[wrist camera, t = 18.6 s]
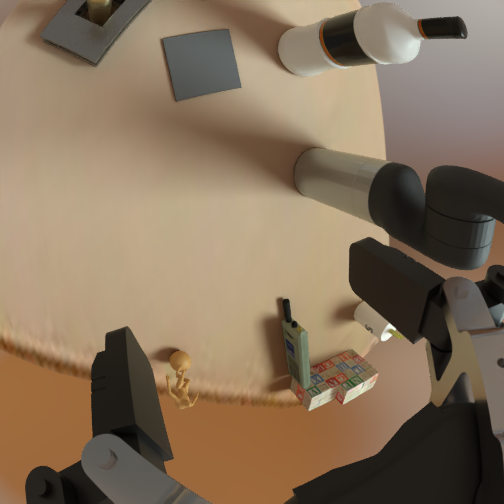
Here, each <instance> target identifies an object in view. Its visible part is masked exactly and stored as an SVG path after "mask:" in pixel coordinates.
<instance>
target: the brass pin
mask: <svg viewBox="0 0 504 504" xmlns="http://www.w3.org/2000/svg"><path fill="white" fill-rule="evenodd" d="M87 5H88V13H89V20H90V22H93V23H95V24H102V23H105V22H106V21H107V20H108V19H109V18H110V16H111V8H112V0H87Z"/></svg>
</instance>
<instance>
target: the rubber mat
mask: <svg viewBox="0 0 504 504" xmlns="http://www.w3.org/2000/svg"><path fill="white" fill-rule="evenodd" d="M163 44H164V49H165V54H166V58H167V63H168V67H169V72H170V76H171V81H172V85H173V89H174V94H175V98H176V101H180V100H184V99H188V98H192V97H196V96H201V95H205V94H210V93H215V92H220V91H225V90H230V89H236V88H241V82H240V78H239V73H238V68H237V64H236V59H235V55H234V50H233V46H232V41H231V37H230V32H229V29H225V30H216V31H207V32H200V33H193V34H187V35H181V36H175V37H170V38H165V39H163Z"/></svg>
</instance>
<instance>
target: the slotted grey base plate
mask: <svg viewBox="0 0 504 504" xmlns="http://www.w3.org/2000/svg"><path fill="white" fill-rule="evenodd" d="M151 1H152V0H112V3H113V4H115V5H117V6H119V8H118V9H117V10H116V11H115V12H114V14H113V15H112V16H111V17H110V18H109V19H108V20H107V22H106V23H105V24H104V25H103V26H102V27H101V26H99V25H97V24H95V23H93V22H90V21H88V20H86V19H84V18H82V17H81V16H82V15H83V13H84V12H85V11H86V10H87V9H88V5H87V0H68V1H67V2H66V3H65V4H64V6H63V7H62V8H61V9H60V10H59V11H58V13H57V14H56V15H55V16H54V17H53V19H52V20H51V21H50V22H49V24H48V25H47V26H46V28H45V29H44V30H43V32H42V33H41V34H40V37H41V38H42V39H43V41H44V42H45V43H47V44H50V45H52V46H54V47H56V48H58V49H61V50H63V51H65V52H67V53H69V54H71V55H73V56H75V57H77V58H79V59H81V60H84V61H86V62H88V63H90V64H91V65H93V66H95V67H97V66H98V65H99V63H100V62H101V60H102V59H103V58H104V56H105V55H106V54H107V52H108V51H109V50H110V48H111V47H112V46H113V45H114V43H115V42H116V41H117V40H118V38H119V37H120V36H121V35H122V33H123V32H124V31H125V30H126V29H127V28H128V26H129V25H130V24H131V23H132V22H133V21H134V20H135V18H136V17H137V16H138V15H139V14H140V13H141V12H142V11H143V10H144V9H145V8H146V7H147V6H148V4H149V3H150V2H151Z"/></svg>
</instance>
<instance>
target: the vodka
mask: <svg viewBox="0 0 504 504" xmlns="http://www.w3.org/2000/svg"><path fill="white" fill-rule="evenodd" d="M449 38H450V39H451V38H455V39H460V38H461V39H462V38H463V39H466V38H467V29H466V25H465V23H464V21H463V20H462V19H461V18H460V17H458V16H457V17H443V18H441V17H440V18H428V19H415V20H414V19H413V18H412V17H411V16H410V15H409V14H408V13H407V12H406V11H405V10H404V9H403V8H401V7H399V6H397V5H395V4H392V3H386V2H382V3H377V4H374V5H371V6H366V7H362V8H361V9H359V10H355V11H352V12H348V13H345V14H342V15H338V16H335V17H332V18H325V19H323V20H321V21H320V22H317V23H315V24H311V25H308V26H304V27H303V26H300V27H295V28H292V29H290V30H287V31H286V32H285V33H284V34H283V35H282V36H281V38H280V40H279V43H278V54H279V57H280V59H281V61H282V63H283V65H284V66H285V67H286V68H287V69H288V70H289V71H290V72H292V73H294V74H296V75H298V76H301V77H311V76H315V75H318V74H320V73H322V72H324V71H327V70H331V69H346V68H349V67H351V66H358V65H367V64H378V63H380V64H390V63H396V64H397V63H398V64H399V63H401V64H402V63H406V62H409V61H411V60H413V59H414V58H415V57H416V56H417V54H418V52H419V48H420V42H421V40H425V39H449Z"/></svg>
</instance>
